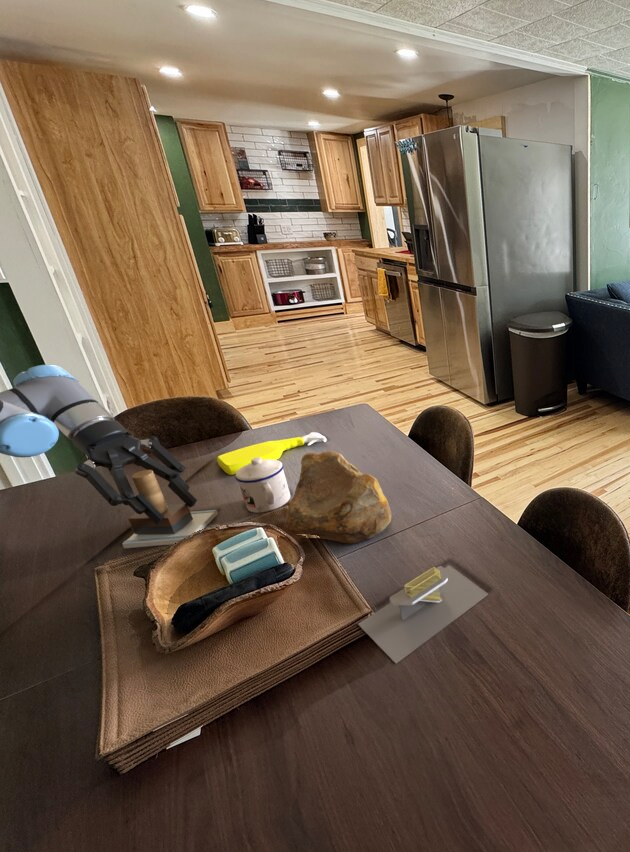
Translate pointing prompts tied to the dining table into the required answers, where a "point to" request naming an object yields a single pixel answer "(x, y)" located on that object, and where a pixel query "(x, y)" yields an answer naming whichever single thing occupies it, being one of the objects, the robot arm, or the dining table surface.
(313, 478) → the rough brown rock
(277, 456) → the spray bottle
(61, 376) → the robot arm
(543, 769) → the dining table surface
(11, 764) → the dining table surface
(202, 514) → the tile
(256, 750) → the dining table surface
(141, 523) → the rubber stamp
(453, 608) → the plastering trowel
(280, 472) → the teacup with lid
